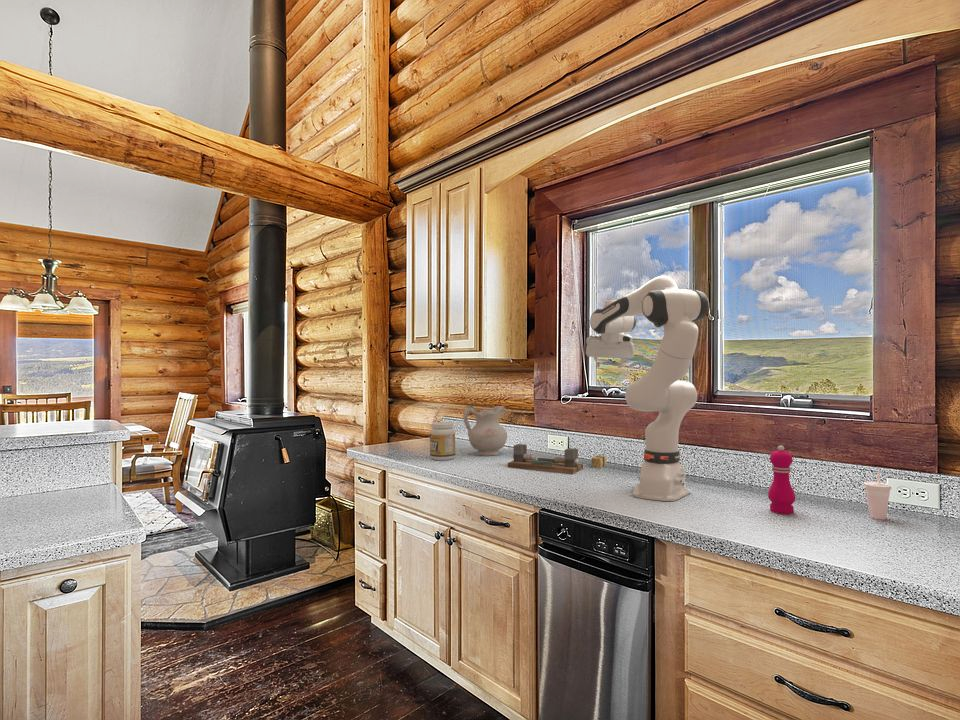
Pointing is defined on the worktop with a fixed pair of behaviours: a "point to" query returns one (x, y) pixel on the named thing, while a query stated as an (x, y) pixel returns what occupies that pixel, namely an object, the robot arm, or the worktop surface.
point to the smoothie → (877, 498)
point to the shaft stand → (546, 461)
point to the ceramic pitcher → (486, 430)
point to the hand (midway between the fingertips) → (608, 367)
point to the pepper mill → (781, 483)
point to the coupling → (599, 461)
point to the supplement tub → (442, 441)
